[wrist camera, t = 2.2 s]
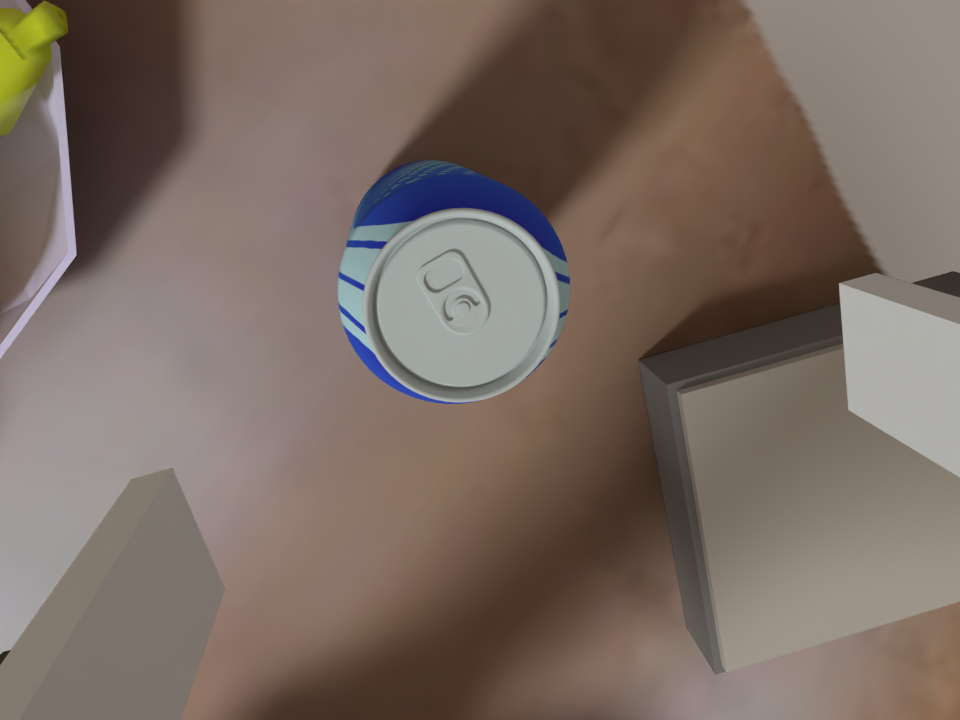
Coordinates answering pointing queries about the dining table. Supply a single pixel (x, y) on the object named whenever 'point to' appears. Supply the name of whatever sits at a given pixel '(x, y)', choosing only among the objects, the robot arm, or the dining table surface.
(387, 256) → the beer can
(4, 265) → the fruit bowl
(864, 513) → the plinth
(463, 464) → the dining table surface
